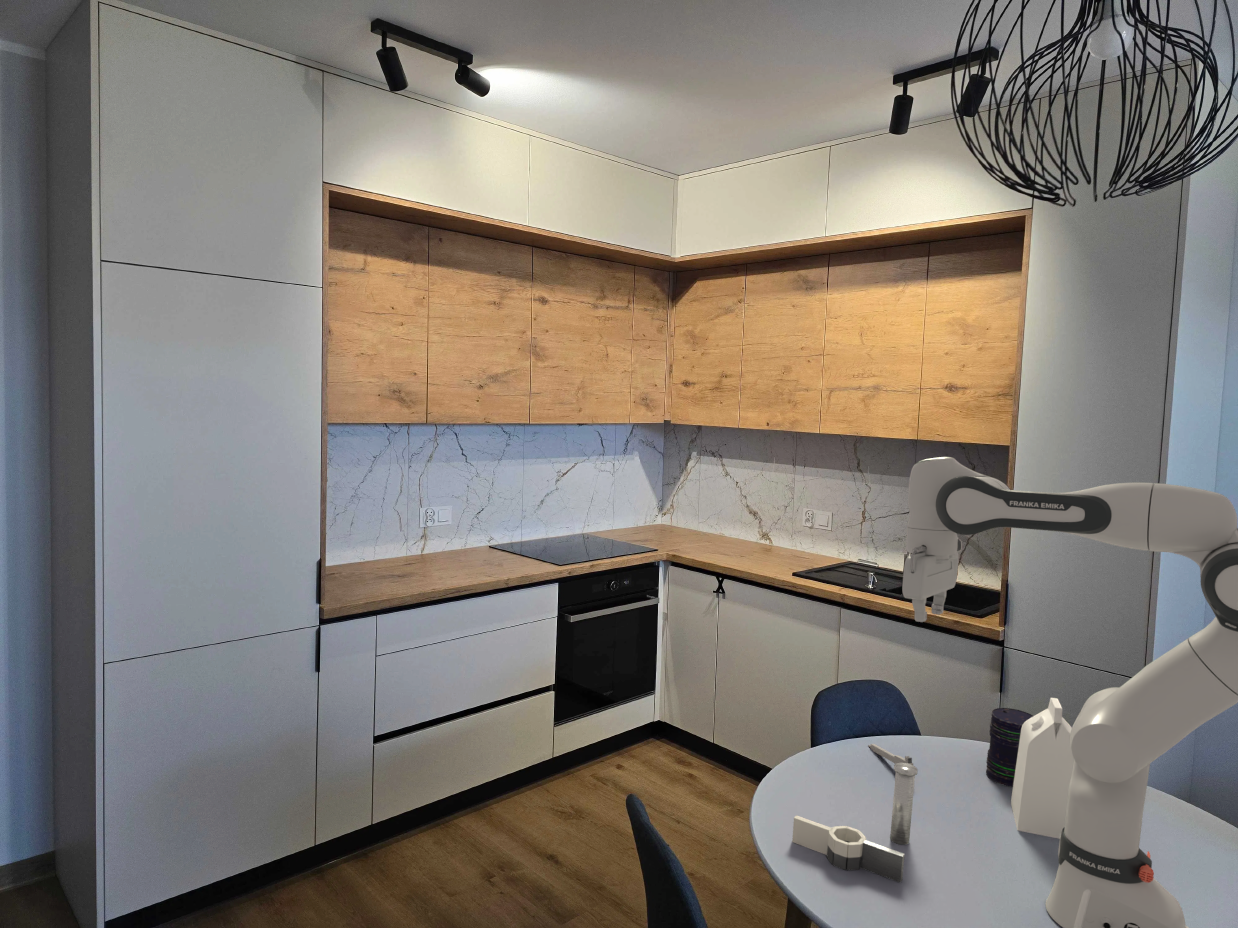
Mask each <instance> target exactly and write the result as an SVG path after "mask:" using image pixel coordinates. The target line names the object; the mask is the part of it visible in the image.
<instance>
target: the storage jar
mask: <svg viewBox="0 0 1238 928" xmlns="http://www.w3.org/2000/svg"><path fill="white" fill-rule="evenodd" d="M1033 716H1034V715H1033V714H1031V713H1029V712H1027V711H1024V710H1020V709H1017V708H1010V707H1009V708H1008V707H997V708H994V709H992V710H991V717H990V722H989V723H990V724H989V736H990V737H989V738H990V739H989V747H988V749H987V755H986V770H985V775H986V777H987V778H988V779H989V780H991V781H993V782H994V783H996V784H999V785H1001V786H1005V787H1009V788H1013V784H1014V777H1015V770H1016V762H1017V755H1018V748H1019V741H1020V734H1021V728H1022V725H1023V724H1024V722H1025V721H1027V720H1028V719H1030V718H1031V717H1033Z"/></svg>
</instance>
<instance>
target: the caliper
mask: <svg viewBox="0 0 1238 928" xmlns="http://www.w3.org/2000/svg"><path fill="white" fill-rule="evenodd" d="M867 746H868V747H869V748H870V750H872V752H874V753H875V754H877V755H879V756H881V757H882V758H885V759H886V760H888V761H890V762H891V763H894V765H895V764H896V763H908V764H911V765H913V766H914V763H913V758H912V757H910V755H907V756H906V755H905V756H904V757H903V756H901V755H896V754H893V753H892V752H890V751H888V750H887V749H885V748H883V747H881V746H879V745H877V744H875V743H870V744H868V745H867Z"/></svg>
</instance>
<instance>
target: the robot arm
mask: <svg viewBox="0 0 1238 928" xmlns="http://www.w3.org/2000/svg"><path fill="white" fill-rule="evenodd" d="M907 507H908V510H909V516H908V517H909V518H908V521H907V524H906V545H905V546H906V552H907V553H910V555H909V556H907V557H906V559H905V561H904V566H903V574H902V575H903V576H902V585H901V586H902V588H901V589H902V595H903V597H904V598H905V599H909V600H911V604H912V607H913V610H914V620H915V622H918V623H919V622H920V623H923V622H926V621H927V620H928V618H927V617H928V611H927V610H926V604H927V598H930V597H933V601H932V604H931V614H933V615H938V616H939V615H941V614H942V615H943V614H944V605H945V602H946V598H947V591H948V590H951V589H953V588H955V586H956V583H957V578H958V571H959V570H958V569H959V561H960V559H959V557H960V556H959V555H960V554H959V553H960V552H962V550H963V542H962V540H961V539H960V538H959V537H958V535H963V536H971V535H976V534H980V533H983V532H986V531H988V530H989V531H990V530H992V529H996V528H998V529H999V528H1010V529H1011V528H1012V529H1023V530H1036V531H1047V532H1049V531H1050V532H1059V533H1065V534H1069V535H1073V536H1077V537H1082V538H1085V539H1089V540H1093V541H1096V542H1100V543H1104V544H1108V545H1112V546H1116V547H1120V548H1127V549H1131V550H1138V551H1147V552H1148V551H1150V552H1157V553H1172V554H1175V555H1180V556H1183V557H1185V558H1188V559H1190V561H1193V562H1194V563H1195V564H1196V565H1198V566H1199V572H1200V588H1201V591H1202V592H1201V593H1202V594H1203V596H1204V598H1205V601H1206V602H1207V604H1208V606H1209V607H1210V609H1211V610H1212V613H1213V615H1215V617H1214V618H1213V620H1212V621H1211V622H1209V623H1208V624H1207V625H1206V627H1204V628H1202V629H1201V630H1199V631H1197V632H1196V633H1194V634H1193V635H1190V636H1189V637H1188V638H1186V639H1185V640H1183V641H1182V642H1180V643H1178V644H1177V645H1176V646H1174V647H1172V648H1171V649H1170V650H1168V651H1167V652H1165V653H1164V654H1162V655H1160V656H1158V658H1155V660H1153V661H1151V662H1150V663H1148V664H1147V665H1145V666H1144V667H1143V668H1142V669H1141V670H1140V671H1139V672H1137V673H1136V674H1135V675H1133V676H1132V677H1131V678H1130V679H1128V680H1127V681H1126V682H1125V683H1123V684H1122V685H1121V686H1119V687H1118V686H1117V687H1116V686H1115V687H1106V688H1104V689H1102V690H1099V691H1097V692H1095V693H1093V694H1091V695H1090V696H1089V697H1088V698H1087V699H1086V700H1085V702H1084V704H1083V706H1082V708H1081V709H1080V711H1079V713H1078V714H1077V717H1076V719H1075V721H1074V723H1072V724H1073V725H1072V726H1071V727H1072V729H1071V733H1070V744H1071V750H1072V755H1073V757H1074V765H1073V770H1072V775H1071V780H1070V785H1069V792H1068V801H1067V810H1066V819H1065V827H1064V828H1063V829H1062V832H1061V835H1060V839H1058V840H1059V841H1058V850H1057V851H1058V852H1057V857H1058V858H1057V860H1058V868H1057V871H1056V874H1055V879H1054V882H1053V885H1052V888H1051V890H1050V893H1049V895H1048V896H1047V898H1046V900H1045V908H1046V911H1047V913H1048V915H1049V916H1050V918H1051V919H1053V920H1054V922H1056V924H1058V925H1059V926H1060V927H1062V928H1190V927H1189V926H1188V925H1186V919H1185V914H1184V911H1183V908H1182V907H1181V904H1180V902H1179V901H1178V899H1177V898H1176V897H1175V896H1174V895H1173V894H1172V893H1170V892H1169V891H1168V890H1167V889H1166V888H1165V887H1164V886H1163V885H1162V884H1161V883H1160V882H1159V881H1157V880H1156V879H1155V878H1154V876H1155V875H1154V874H1155V872H1154V870H1153V861H1152V859H1151V853H1150V851H1147V852H1146V853H1147V854H1146V853H1145V852H1144V851H1143V850H1142V849H1141V848H1140V842H1141V836H1142V835H1141V834H1142V826H1143V816H1144V808H1145V802H1146V794H1147V787H1148V782H1149V775H1150V766H1151V763H1153V762H1154V761H1156V760H1157V759H1158V758H1159V757H1161V756H1163V755H1164V754H1166V753H1167V752H1168V751H1169V750H1171V749H1173V747H1174V746H1176V745H1177V744H1178V743H1180V742H1181V741H1182V740H1183V739H1184V738H1186V737H1187V736H1188V735H1189V734H1191V733H1192V732H1194V731H1195V730H1196V729H1198V728H1199V727H1201V726H1202V725H1203V724H1205V723H1207V722H1208V721H1210V720H1211V719H1213V718H1214V717H1216V716H1218V715H1220V714H1221V713H1224V712H1225V711H1226V710H1228V709H1230V708H1231V707H1233V706H1235V705H1236V704H1238V514H1237V512H1236V511H1237V510H1236V509H1235V507H1234V504H1233V503H1232V502H1231V500H1230V499H1229V498H1228V497H1227V496H1225V495H1223V494H1221V493H1219V492H1216V491H1211V490H1207V489H1202V488H1197V487H1193V486H1192V487H1191V486H1186V485H1185V486H1184V485H1177V484H1176V485H1175V484H1169V483H1159V482H1157V483H1156V482H1155V483H1154V482H1120V483H1119V482H1118V483H1111V484H1104V485H1099V486H1094V487H1090V488H1085V489H1082V490H1081V489H1080V490H1074V491H1068V492H1067V491H1066V492H1046V491H1045V492H1044V491H1043V492H1042V491H1032V490H1030V491H1029V490H1014V489H1013V490H1012V489H1011V488H1010V487H1009V486H1008V485H1007V483H1005V482H1003V481H1001V480H999V479H998V478H995V477H991V476H989V475H986V474H983V473H980V472H977V471H975V470H972V468H971V469H970V468H968V467H966V466H965V465H963V464H962V463H960V462H959V461H958V460H956V458H954V457H951V456H941V457H933V458H926V459H922V460H919V461H917V462H916V463H915V464H914V465H913V466H912V468H911V471H910V475H909V480H908V492H907Z"/></svg>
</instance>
